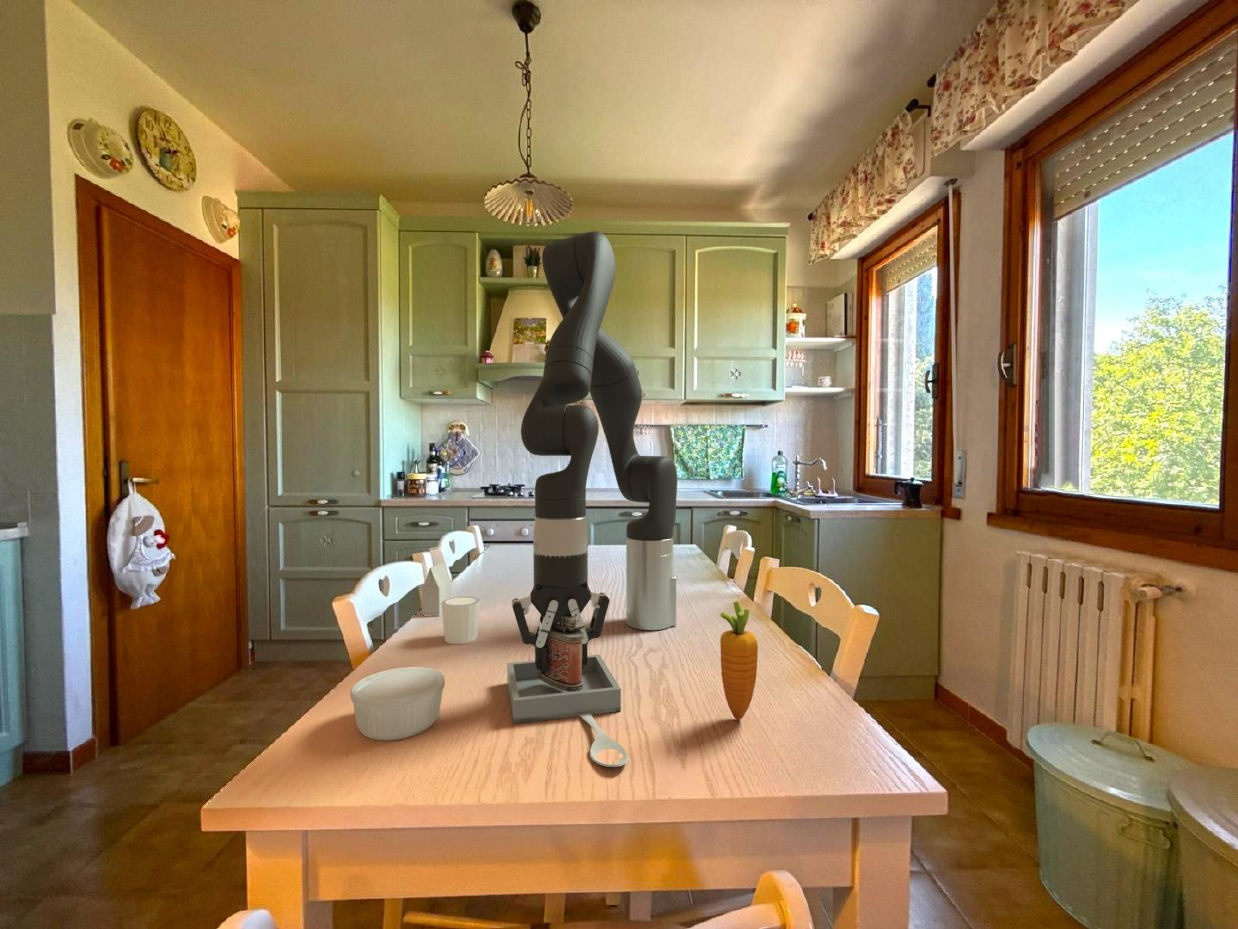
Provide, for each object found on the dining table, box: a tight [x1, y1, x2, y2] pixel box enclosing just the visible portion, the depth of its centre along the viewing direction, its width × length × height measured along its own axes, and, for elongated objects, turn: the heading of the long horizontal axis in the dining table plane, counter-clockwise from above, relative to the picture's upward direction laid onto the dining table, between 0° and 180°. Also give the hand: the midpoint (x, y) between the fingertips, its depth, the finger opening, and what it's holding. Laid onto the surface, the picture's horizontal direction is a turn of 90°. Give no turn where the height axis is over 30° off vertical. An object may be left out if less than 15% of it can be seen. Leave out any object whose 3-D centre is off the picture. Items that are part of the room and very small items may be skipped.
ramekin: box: [350, 666, 446, 741], centre depth 72 cm, size 11×11×5 cm
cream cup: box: [441, 596, 481, 645], centre depth 104 cm, size 7×7×7 cm
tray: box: [506, 654, 622, 725], centre depth 80 cm, size 14×13×3 cm
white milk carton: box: [421, 561, 453, 617], centre depth 121 cm, size 4×7×10 cm, turn 175°
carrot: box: [719, 601, 759, 721], centre depth 73 cm, size 5×5×15 cm
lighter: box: [538, 616, 584, 692], centre depth 80 cm, size 8×3×10 cm, turn 45°
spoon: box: [578, 713, 629, 768], centre depth 71 cm, size 4×21×2 cm, turn 18°
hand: (561, 669), depth 80 cm, fingers closed on lighter, 4 cm apart
